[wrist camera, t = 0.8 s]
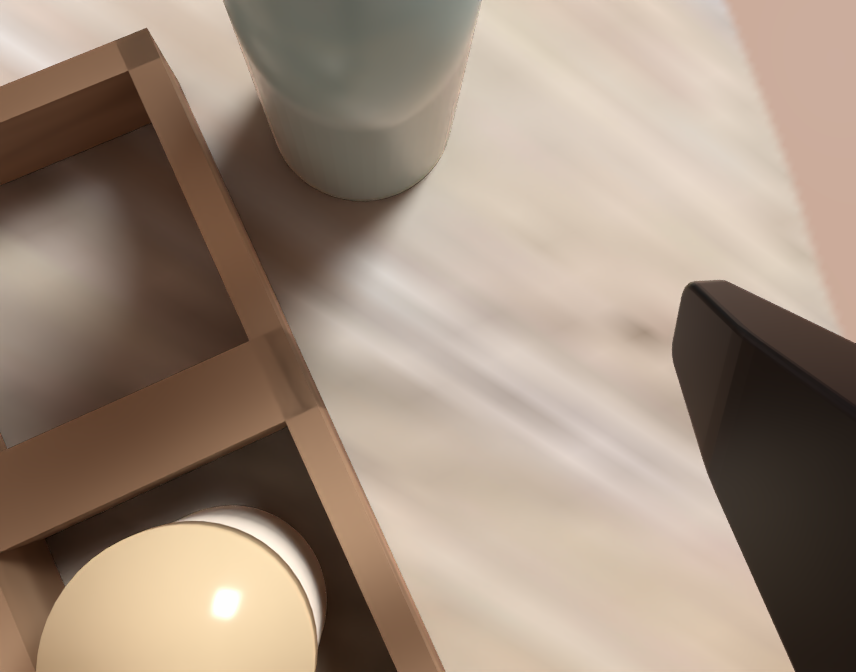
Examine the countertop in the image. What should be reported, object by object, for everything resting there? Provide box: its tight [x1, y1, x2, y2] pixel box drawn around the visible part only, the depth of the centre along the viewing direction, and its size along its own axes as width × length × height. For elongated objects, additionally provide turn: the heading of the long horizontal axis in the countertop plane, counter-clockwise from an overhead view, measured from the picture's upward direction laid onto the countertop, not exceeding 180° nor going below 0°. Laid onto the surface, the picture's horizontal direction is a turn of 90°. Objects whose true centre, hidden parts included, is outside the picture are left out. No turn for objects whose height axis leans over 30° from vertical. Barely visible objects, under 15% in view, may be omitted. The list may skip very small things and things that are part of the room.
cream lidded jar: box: [36, 505, 327, 672], centre depth 18 cm, size 5×5×5 cm
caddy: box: [0, 28, 445, 672], centre depth 20 cm, size 18×9×3 cm, turn 25°
